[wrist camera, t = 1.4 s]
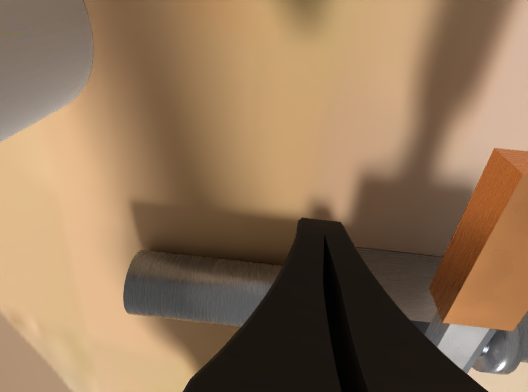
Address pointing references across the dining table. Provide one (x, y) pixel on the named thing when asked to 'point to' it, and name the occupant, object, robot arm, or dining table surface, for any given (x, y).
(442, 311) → the valve lever
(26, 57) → the cup
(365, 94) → the dining table surface
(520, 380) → the dining table surface
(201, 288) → the valve pipe
